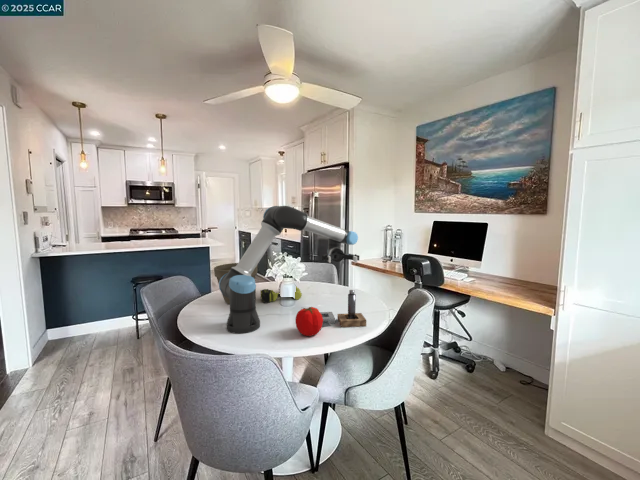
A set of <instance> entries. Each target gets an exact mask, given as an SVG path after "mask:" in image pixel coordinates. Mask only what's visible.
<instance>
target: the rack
mask: <svg viewBox="0 0 640 480" xmlns="http://www.w3.org/2000/svg"><path fill="white" fill-rule="evenodd" d="M336 316H337V321H338V324H339V326H340V328H356V327H358V328H361V327H367V319H366V318H365V316H364V315H363V314H362V312H355V319H348V313H337V315H336Z"/></svg>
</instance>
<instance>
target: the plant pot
mask: <svg viewBox="0 0 640 480" xmlns="http://www.w3.org/2000/svg"><path fill="white" fill-rule="evenodd" d="M238 263H239V262H233V263H232V262H231V263H225V264H220V265H216V266H214V267H213V270H214V271H213V273H214V277H215V278H216V280H217V283H218V284H219V281H220V279H221V277H222V276H223V275H225V274H227V273H228V272H229V271H230V269H231V268H232V267H235V266H237V264H238ZM257 274H258V264H257V266H256V267H255V269H254V271H253V272H252V274H251V277H253V278H254V279H255V280H256V277H257ZM221 295H222V299H223V300H224V303H225V304H226V303H227V304H226V305H230V299H229V298H227V297H226V296H224V295H223V294H222V293H221Z"/></svg>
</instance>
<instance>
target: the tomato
mask: <svg viewBox="0 0 640 480" xmlns="http://www.w3.org/2000/svg"><path fill="white" fill-rule="evenodd" d="M320 312H321V311H320V310H319V309H318V308H316V307H313V306H309V307H307V308H306V307H303V308H301V309H300V310H299V311H298V312H297V313H296V315H295V325H296V329H297V331H298V332H299V333H300V334H301V335H303V336H307V337H311V336H316V335H317V334H319V333H320V331H321V329H322V328H323V327H322V323H323V317H322V315H321V313H320Z"/></svg>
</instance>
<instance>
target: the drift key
mask: <svg viewBox="0 0 640 480" xmlns="http://www.w3.org/2000/svg"><path fill="white" fill-rule="evenodd" d="M326 327H331V324H329V323H325V324H322V328H326Z"/></svg>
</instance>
